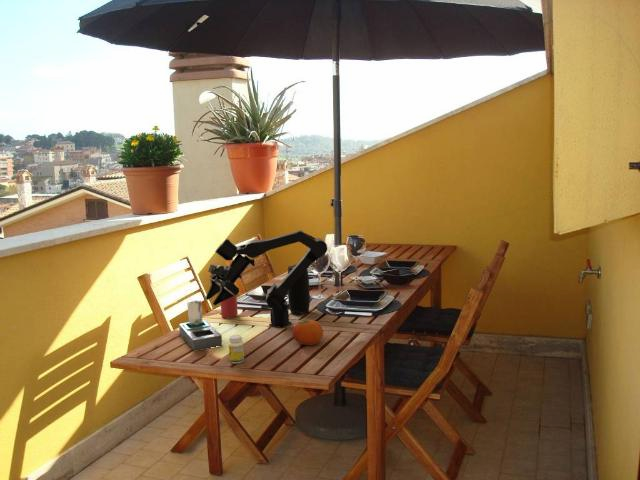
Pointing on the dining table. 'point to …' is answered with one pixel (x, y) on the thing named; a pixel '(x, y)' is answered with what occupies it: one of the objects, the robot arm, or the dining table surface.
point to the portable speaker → (299, 294)
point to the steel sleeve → (195, 313)
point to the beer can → (229, 307)
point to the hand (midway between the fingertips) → (210, 301)
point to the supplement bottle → (236, 349)
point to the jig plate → (200, 336)
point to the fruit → (307, 332)
